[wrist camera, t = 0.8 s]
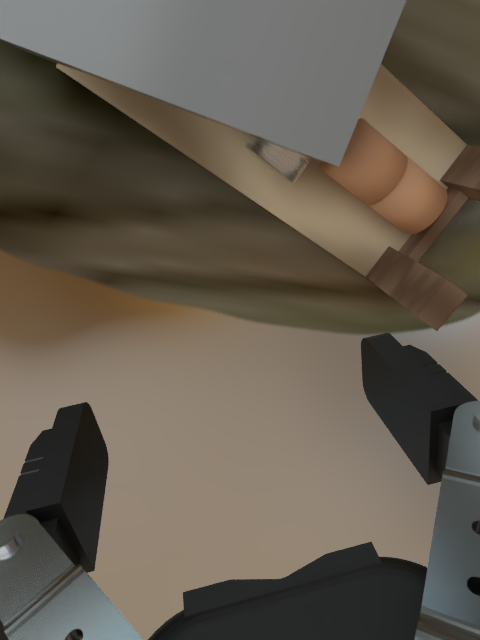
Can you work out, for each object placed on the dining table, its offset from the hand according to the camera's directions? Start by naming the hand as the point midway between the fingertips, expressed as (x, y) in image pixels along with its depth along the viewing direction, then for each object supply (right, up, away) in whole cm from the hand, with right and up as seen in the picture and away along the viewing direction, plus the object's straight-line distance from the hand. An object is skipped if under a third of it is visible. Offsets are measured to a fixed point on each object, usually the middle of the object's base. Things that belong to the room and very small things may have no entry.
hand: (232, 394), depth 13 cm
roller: (+10, +13, +20) cm, 26 cm away
